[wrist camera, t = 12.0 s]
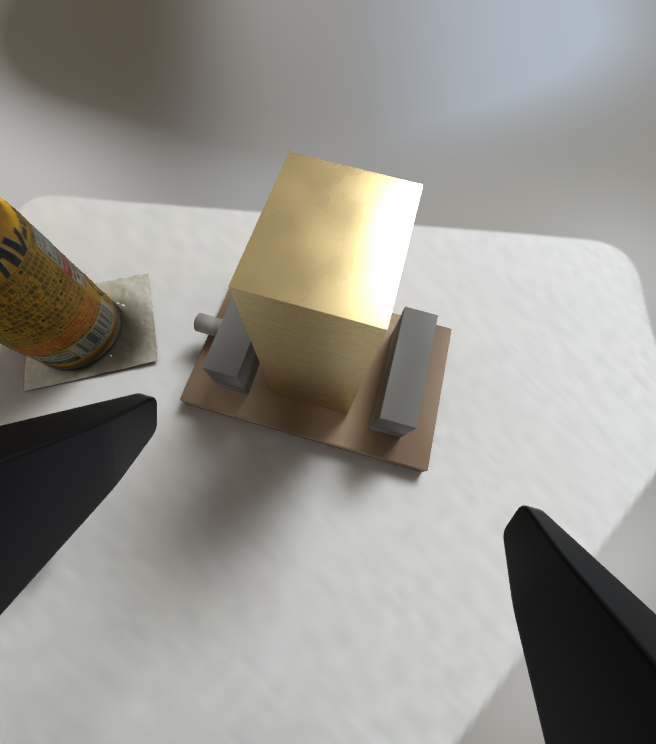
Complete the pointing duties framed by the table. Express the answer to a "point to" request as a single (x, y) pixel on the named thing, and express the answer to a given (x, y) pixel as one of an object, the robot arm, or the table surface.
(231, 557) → the table surface
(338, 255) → the brass block
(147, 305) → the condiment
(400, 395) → the vise
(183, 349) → the table surface
